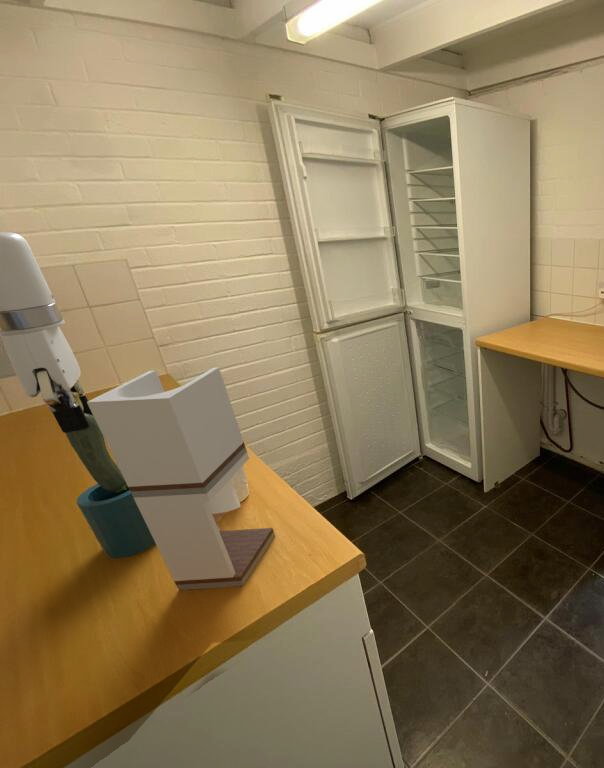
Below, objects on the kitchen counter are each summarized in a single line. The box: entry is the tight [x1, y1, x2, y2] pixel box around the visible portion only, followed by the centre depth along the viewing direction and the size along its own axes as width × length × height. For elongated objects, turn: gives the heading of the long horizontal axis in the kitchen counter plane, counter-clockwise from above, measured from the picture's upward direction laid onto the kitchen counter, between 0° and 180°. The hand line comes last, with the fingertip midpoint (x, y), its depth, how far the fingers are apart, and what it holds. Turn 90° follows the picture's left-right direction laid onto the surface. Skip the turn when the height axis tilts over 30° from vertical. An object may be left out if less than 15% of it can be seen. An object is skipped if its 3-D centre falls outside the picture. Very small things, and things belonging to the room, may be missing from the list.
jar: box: [76, 482, 156, 559], centre depth 78 cm, size 10×10×12 cm
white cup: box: [231, 465, 250, 504], centre depth 89 cm, size 8×8×10 cm
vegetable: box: [65, 392, 128, 492], centre depth 72 cm, size 4×4×20 cm
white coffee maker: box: [87, 367, 276, 591], centre depth 68 cm, size 11×11×35 cm
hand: (79, 423), depth 71 cm, fingers closed on vegetable, 4 cm apart
